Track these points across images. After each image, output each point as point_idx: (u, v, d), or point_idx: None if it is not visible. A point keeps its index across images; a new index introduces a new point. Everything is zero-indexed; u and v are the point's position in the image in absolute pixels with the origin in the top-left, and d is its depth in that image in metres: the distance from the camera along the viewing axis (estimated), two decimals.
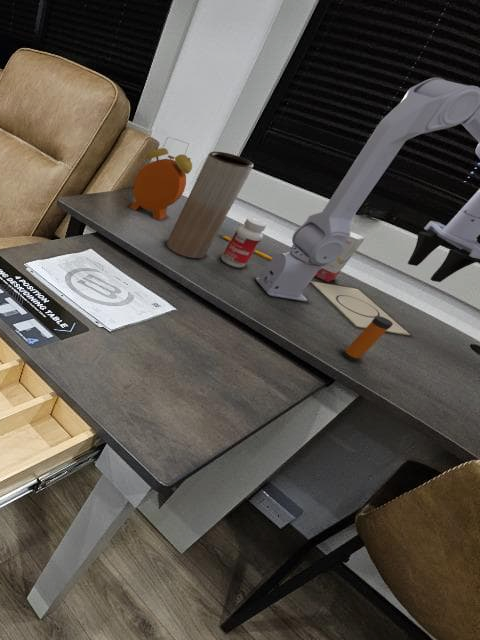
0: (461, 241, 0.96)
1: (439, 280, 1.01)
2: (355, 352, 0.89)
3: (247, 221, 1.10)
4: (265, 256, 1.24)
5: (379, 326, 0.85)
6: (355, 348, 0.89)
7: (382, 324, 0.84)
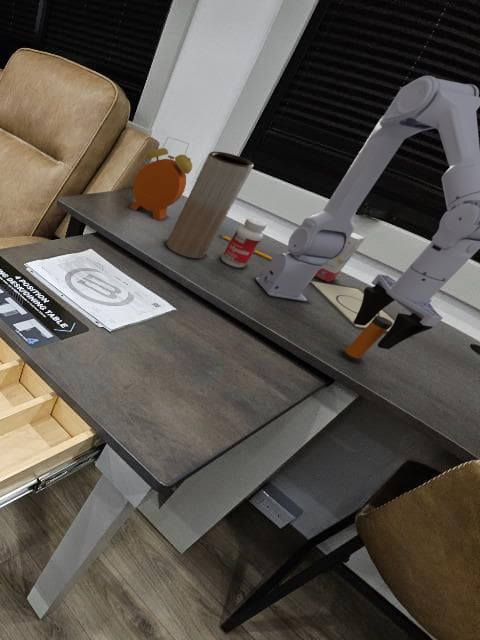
0: (411, 304, 0.79)
1: (388, 347, 0.84)
2: (355, 352, 0.89)
3: (247, 221, 1.10)
4: (265, 256, 1.24)
5: (379, 326, 0.85)
6: (355, 348, 0.89)
7: (382, 324, 0.84)
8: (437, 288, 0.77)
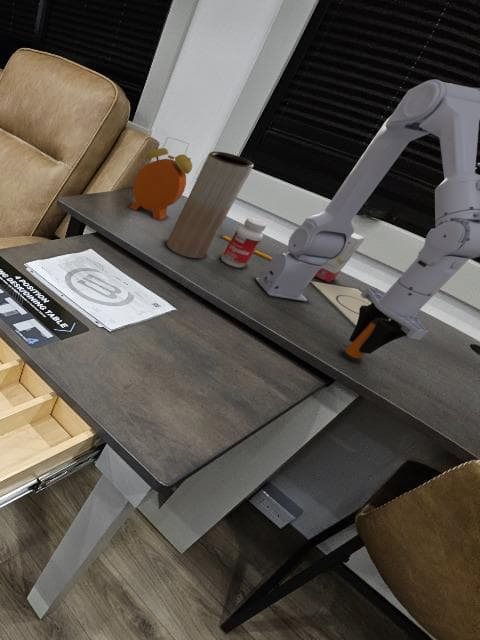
0: (397, 318, 0.80)
1: (369, 352, 0.88)
2: (355, 352, 0.89)
3: (247, 221, 1.10)
4: (265, 256, 1.24)
5: None
6: (355, 348, 0.89)
7: None
8: (423, 302, 0.79)
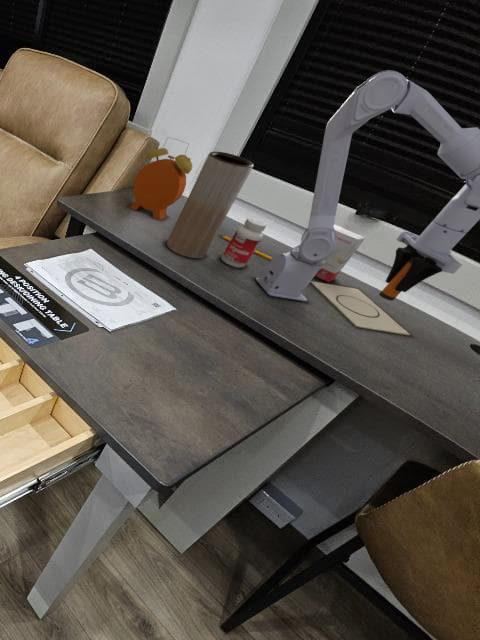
0: (433, 254, 0.88)
1: (404, 290, 0.95)
2: (391, 291, 0.97)
3: (247, 221, 1.10)
4: (265, 256, 1.24)
5: None
6: (391, 287, 0.97)
7: None
8: (457, 239, 0.87)
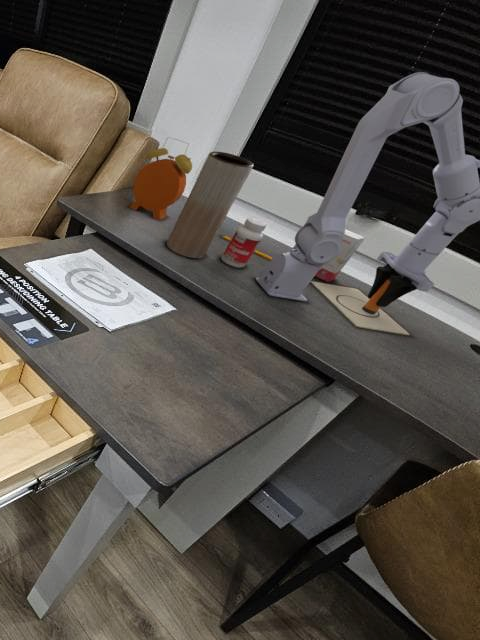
0: (409, 274, 0.97)
1: (384, 305, 1.04)
2: (372, 306, 1.06)
3: (247, 221, 1.10)
4: (265, 256, 1.24)
5: None
6: (373, 302, 1.05)
7: None
8: (430, 260, 0.96)
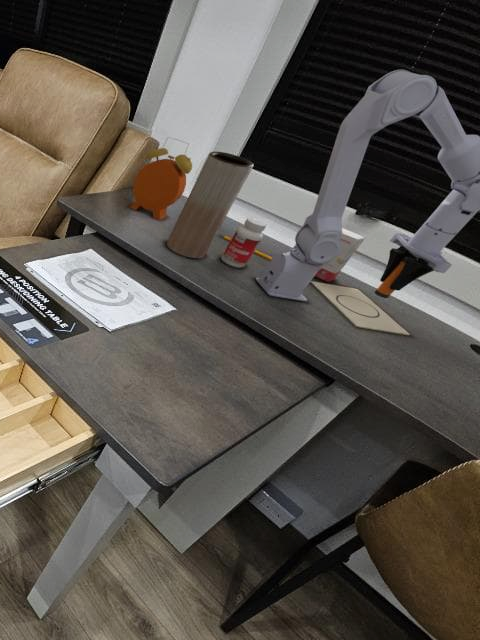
0: (425, 255, 0.94)
1: (398, 289, 1.01)
2: (386, 290, 1.02)
3: (247, 221, 1.10)
4: (265, 256, 1.23)
5: None
6: (386, 286, 1.02)
7: None
8: (447, 241, 0.92)
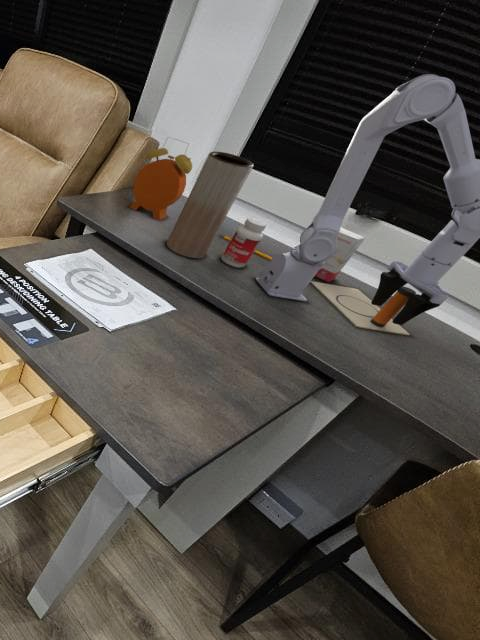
0: (422, 285, 0.93)
1: (401, 323, 0.98)
2: (382, 319, 1.01)
3: (247, 221, 1.10)
4: (265, 256, 1.23)
5: (404, 295, 0.97)
6: (382, 315, 1.01)
7: (407, 293, 0.97)
8: (444, 271, 0.91)
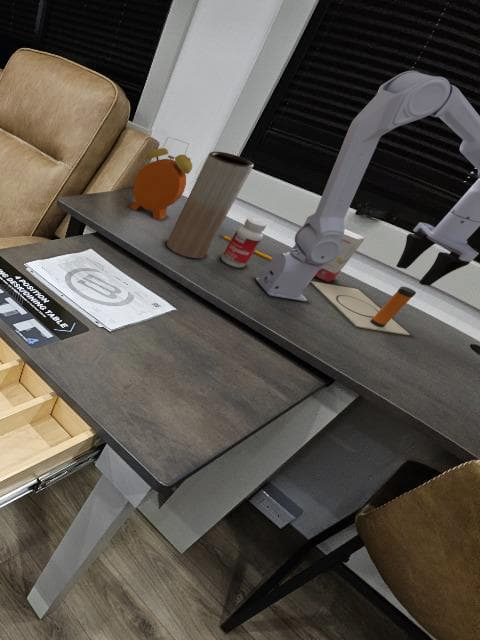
0: (450, 243, 0.92)
1: (428, 284, 0.98)
2: (381, 319, 1.01)
3: (247, 221, 1.10)
4: (265, 256, 1.23)
5: (404, 295, 0.97)
6: (382, 315, 1.01)
7: (407, 293, 0.97)
8: (473, 229, 0.91)
